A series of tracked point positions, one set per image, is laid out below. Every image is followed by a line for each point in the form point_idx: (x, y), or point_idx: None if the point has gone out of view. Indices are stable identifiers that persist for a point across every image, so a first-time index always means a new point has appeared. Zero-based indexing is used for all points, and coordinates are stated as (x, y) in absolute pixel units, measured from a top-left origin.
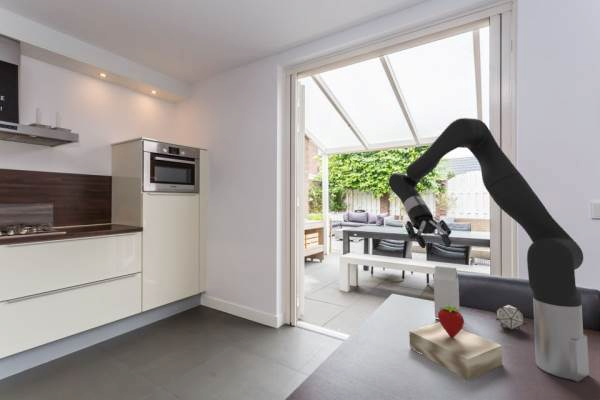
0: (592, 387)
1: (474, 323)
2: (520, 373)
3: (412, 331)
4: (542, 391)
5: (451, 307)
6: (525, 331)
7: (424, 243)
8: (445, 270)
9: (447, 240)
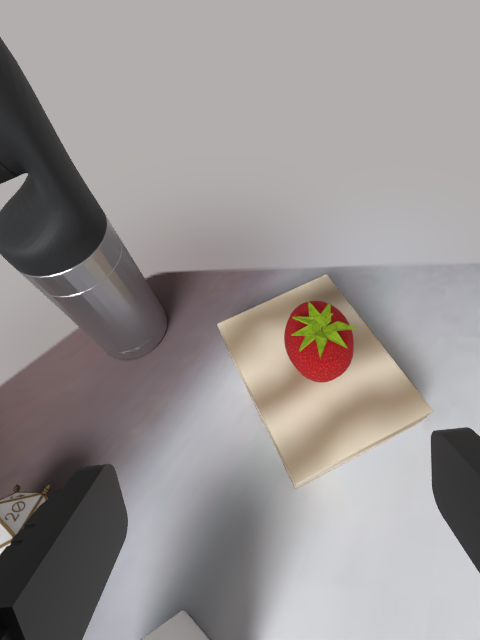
0: None
1: (117, 602)
2: (214, 317)
3: (422, 407)
4: (220, 275)
5: (310, 334)
6: None
7: (467, 429)
8: None
9: (86, 492)
